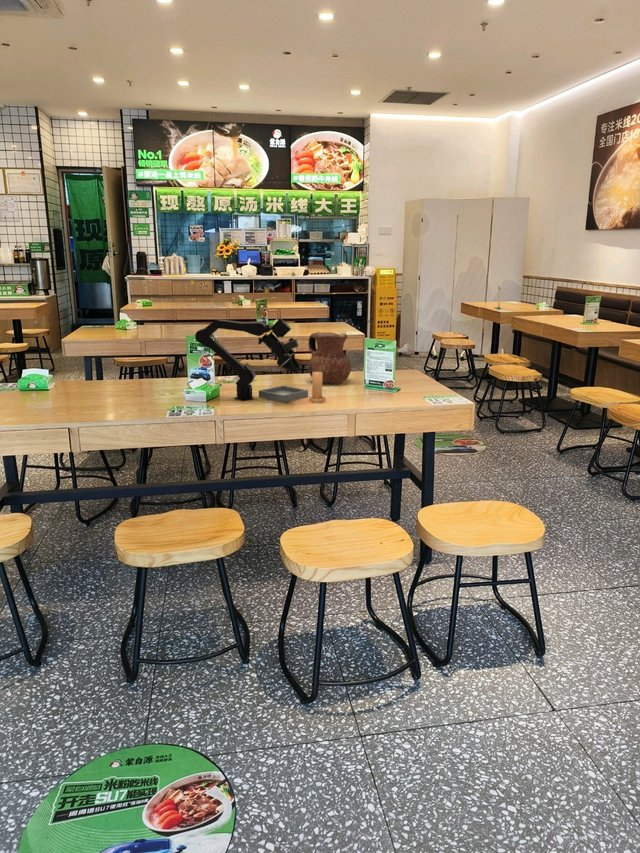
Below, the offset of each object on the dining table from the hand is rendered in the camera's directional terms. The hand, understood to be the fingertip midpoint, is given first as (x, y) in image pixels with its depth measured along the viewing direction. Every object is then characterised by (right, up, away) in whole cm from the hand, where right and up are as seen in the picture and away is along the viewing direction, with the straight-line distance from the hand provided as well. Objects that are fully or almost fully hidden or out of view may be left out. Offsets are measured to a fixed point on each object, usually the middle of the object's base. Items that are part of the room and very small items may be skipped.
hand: (298, 371), depth 276 cm
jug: (+14, -2, +43) cm, 45 cm away
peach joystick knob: (+8, -13, +2) cm, 16 cm away
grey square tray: (-7, -11, +10) cm, 16 cm away
